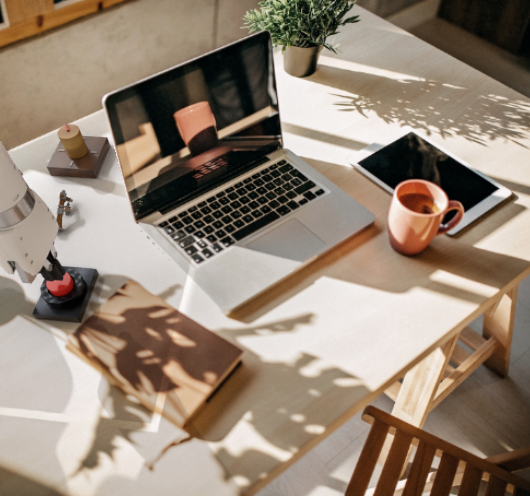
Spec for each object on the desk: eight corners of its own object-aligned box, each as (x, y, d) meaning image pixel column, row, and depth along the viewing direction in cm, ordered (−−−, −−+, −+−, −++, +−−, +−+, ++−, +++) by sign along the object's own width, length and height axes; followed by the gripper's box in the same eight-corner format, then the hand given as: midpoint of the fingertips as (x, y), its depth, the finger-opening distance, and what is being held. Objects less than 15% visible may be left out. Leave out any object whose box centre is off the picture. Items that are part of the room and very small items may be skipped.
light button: (46, 295, 83) (42, 290, 82) (55, 275, 85) (51, 270, 84) (69, 297, 83) (65, 292, 81) (77, 277, 85) (73, 272, 84)
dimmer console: (50, 175, 104) (46, 166, 102) (67, 143, 110) (63, 133, 108) (96, 178, 103) (92, 169, 101) (110, 145, 109) (107, 136, 107)
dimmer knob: (90, 154, 104) (80, 133, 99) (69, 161, 103) (59, 140, 98) (85, 141, 106) (76, 120, 101) (65, 148, 105) (54, 127, 100)
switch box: (35, 319, 84) (27, 309, 81) (57, 270, 90) (49, 259, 87) (81, 323, 83) (73, 313, 81) (99, 273, 89) (93, 262, 86)
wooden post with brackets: (76, 195, 99) (66, 188, 95) (70, 234, 98) (59, 229, 93) (68, 195, 99) (57, 188, 95) (61, 234, 98) (50, 228, 93)
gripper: (1, 162, 71) (50, 238, 86) (-49, 245, 63) (15, 314, 77) (51, 165, 70) (92, 241, 85) (7, 249, 62) (61, 318, 77)
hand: (55, 276), depth 81 cm, fingers closed
